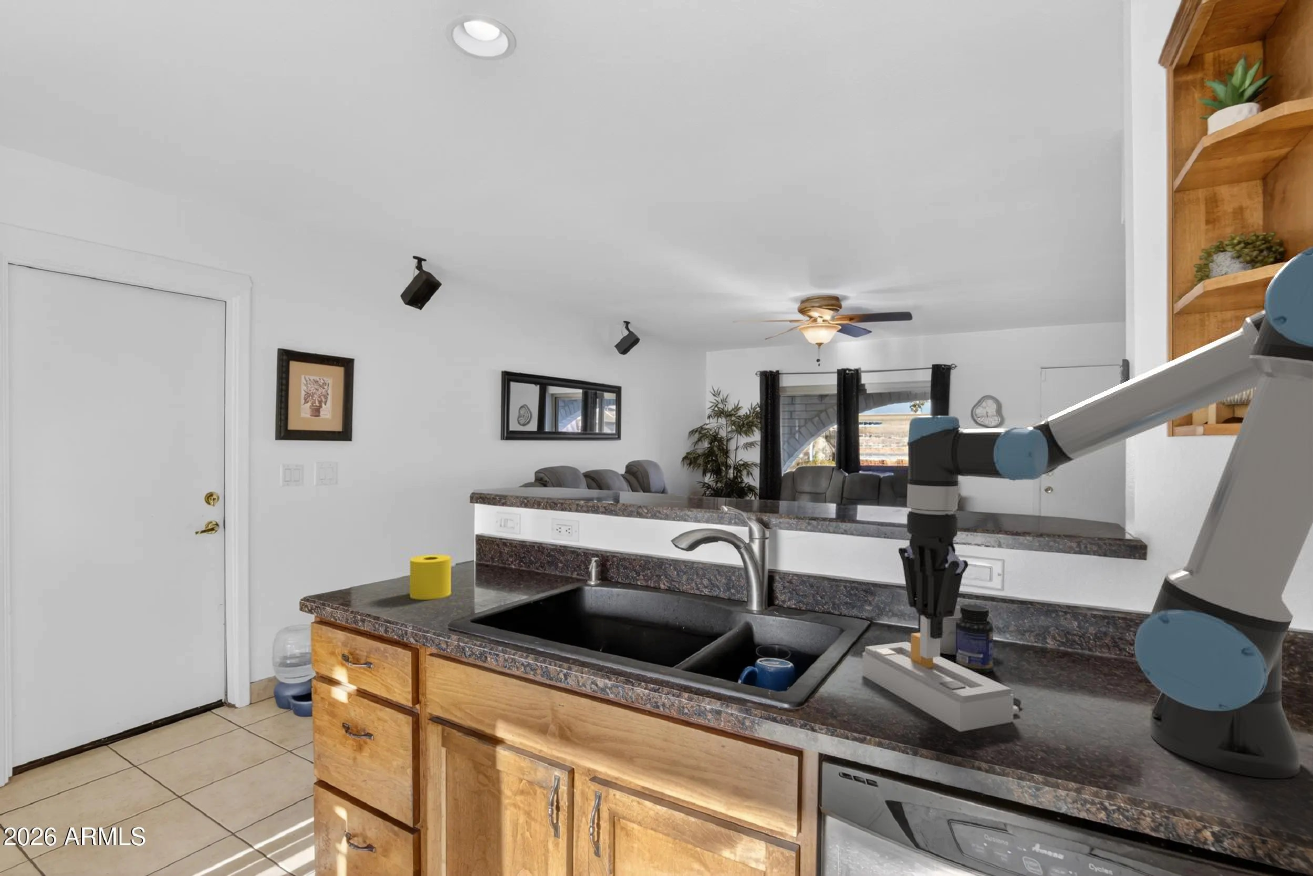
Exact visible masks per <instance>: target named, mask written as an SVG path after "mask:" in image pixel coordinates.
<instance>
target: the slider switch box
mask: <svg viewBox="0 0 1313 876" xmlns="http://www.w3.org/2000/svg"><path fill="white" fill-rule="evenodd" d="M862 676H863V677H865V678H866V679H868V680H870V681H871V682H874V684H877V685H878V686H879V687H882V688H883V689H886V690H887V691H888V692H891V693H892V694H893V695H896V696H897V697H899V698H901V699H903V700H904V701H906V702H908V703H910V704H911V705H913V706H915V707H916V708H918V709H920V710H922V711H923V712H925V713H927V714H928V715H930V716H931V717H934V718H935V719H937V720H939V721H940V722H942V723H944V724H946V725H947V726H949V727H950V728H952V729H954V730H956V731H957V732H967V731H971V730H975V729H982V728H987V727H992V726H999V725H1004V724H1008V723H1013V722H1014V715H1013V697H1014V694H1012V688H1011V687H1008V686H1006V685H1003V684H1002V683H999V682H997V681H995V680H993V679H991V678H988V677H986V676H984V675H981V673H980V674H979V673H978V672H973V671H971V670H969V669H966V668H964V667H962V666H960V665H957V664H956V662H955V663H954V662H953V661H951V660H948V659H946V658H944V657H942V656H940V657H933V667H930V668H925V667H923V666H921V665H919V664H917V663H915V662H913V661H911V642H908V641H902V642H894V643H893V642H892V643H885V644H876V645H870V646H865V647H864V652H862Z"/></svg>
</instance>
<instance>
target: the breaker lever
mask: <svg viewBox="0 0 1313 876" xmlns="http://www.w3.org/2000/svg"><path fill="white" fill-rule="evenodd" d="M910 643H911V661H913V662H915V663H917V664H919V665H921V666H923V667H925V668H930V667H933V658H925V657H923V656H920V633H919V632H915V633H914V632H913V633H910Z"/></svg>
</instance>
